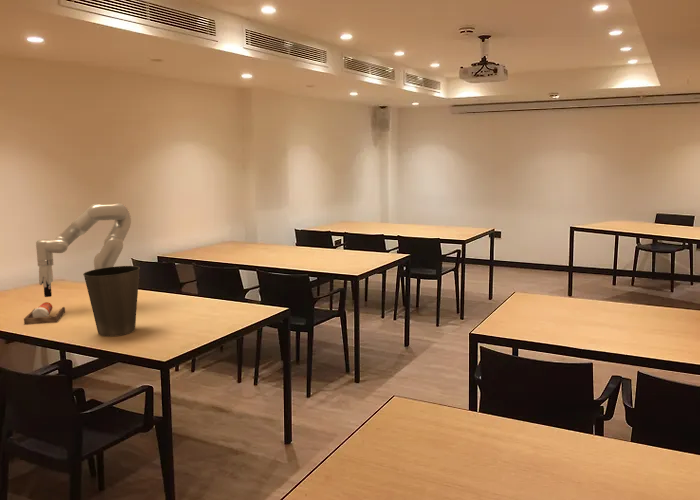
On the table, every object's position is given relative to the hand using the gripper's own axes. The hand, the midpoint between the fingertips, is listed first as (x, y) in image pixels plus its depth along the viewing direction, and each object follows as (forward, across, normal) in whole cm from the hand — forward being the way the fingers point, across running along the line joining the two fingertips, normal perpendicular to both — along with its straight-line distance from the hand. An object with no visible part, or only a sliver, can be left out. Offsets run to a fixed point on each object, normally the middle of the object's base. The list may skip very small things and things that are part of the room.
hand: (48, 296), depth 321 cm
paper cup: (+5, +3, 0) cm, 6 cm away
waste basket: (+10, +45, +40) cm, 61 cm away
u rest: (+10, +9, 0) cm, 13 cm away
